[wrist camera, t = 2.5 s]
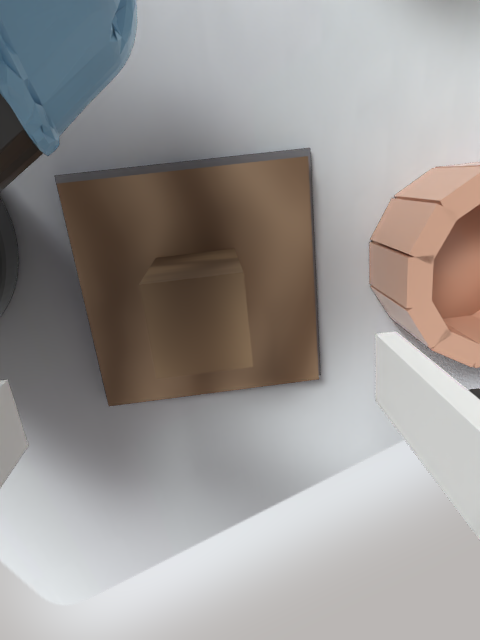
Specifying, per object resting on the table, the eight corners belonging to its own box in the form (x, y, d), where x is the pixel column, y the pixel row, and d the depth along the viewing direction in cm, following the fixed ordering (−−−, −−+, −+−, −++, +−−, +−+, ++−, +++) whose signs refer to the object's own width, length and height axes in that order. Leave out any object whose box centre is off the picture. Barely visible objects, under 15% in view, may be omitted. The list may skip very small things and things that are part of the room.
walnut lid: (113, 395, 31) (80, 472, 23) (64, 183, 26) (1, 186, 18) (313, 370, 32) (349, 435, 24) (302, 157, 27) (343, 149, 19)
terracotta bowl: (369, 341, 32) (404, 377, 26) (369, 174, 28) (410, 173, 22) (523, 321, 32) (590, 352, 27) (544, 154, 28) (627, 149, 23)
